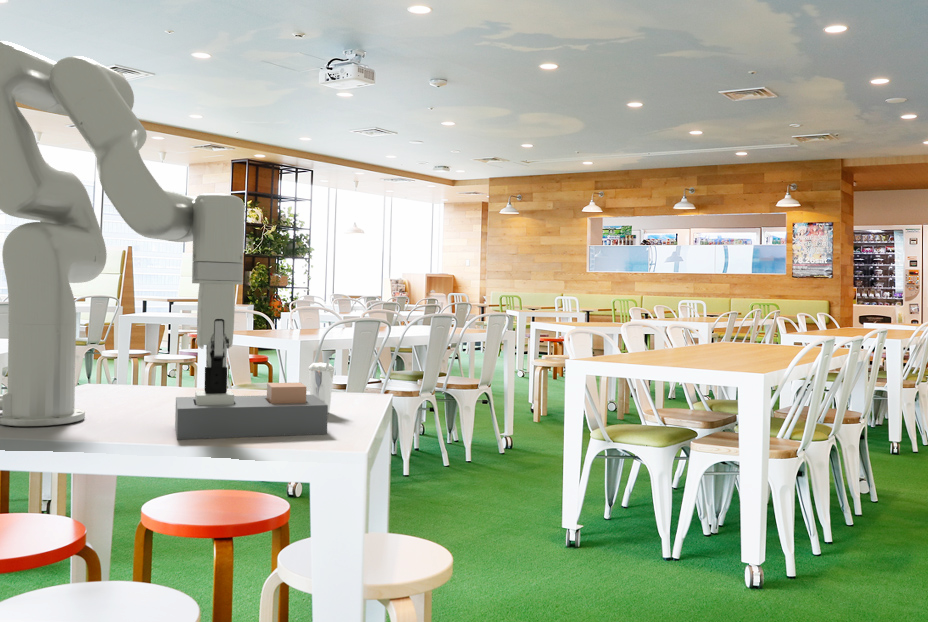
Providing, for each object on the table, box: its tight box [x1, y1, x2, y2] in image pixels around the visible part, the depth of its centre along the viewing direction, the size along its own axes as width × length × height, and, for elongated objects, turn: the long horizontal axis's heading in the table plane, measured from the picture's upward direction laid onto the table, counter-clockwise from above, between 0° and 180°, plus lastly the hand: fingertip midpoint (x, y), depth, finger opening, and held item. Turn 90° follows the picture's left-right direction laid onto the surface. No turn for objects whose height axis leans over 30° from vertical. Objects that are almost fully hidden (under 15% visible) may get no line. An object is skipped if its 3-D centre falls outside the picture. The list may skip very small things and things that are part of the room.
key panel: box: [174, 394, 329, 440], centre depth 125 cm, size 22×12×4 cm, turn 111°
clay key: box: [266, 382, 307, 404], centre depth 127 cm, size 5×5×4 cm
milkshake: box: [308, 358, 335, 414], centre depth 143 cm, size 4×5×10 cm
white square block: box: [194, 389, 235, 405], centre depth 123 cm, size 5×5×4 cm
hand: (215, 392), depth 123 cm, fingers closed
